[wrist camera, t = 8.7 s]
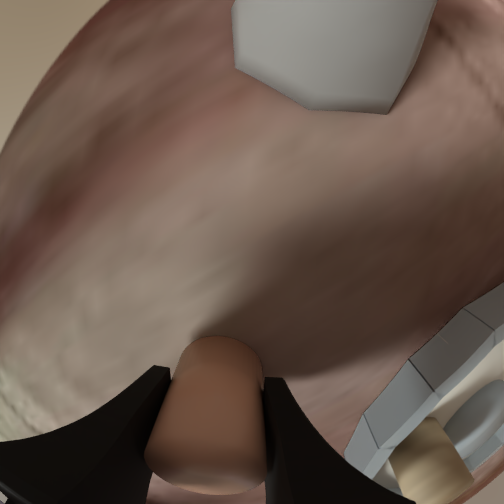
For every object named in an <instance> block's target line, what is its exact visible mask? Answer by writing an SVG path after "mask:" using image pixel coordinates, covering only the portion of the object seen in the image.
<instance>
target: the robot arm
mask: <svg viewBox="0 0 504 504" xmlns="http://www.w3.org/2000/svg"><path fill="white" fill-rule="evenodd" d="M170 382H171V376H170V368H168V367H162V366H156V365H154V366H152V367H151V368H150V369H149V370H147V371H146V372H145V373H144V374H143V375H142V376H140V377H139V378H138V379H137V380H136V381H135V382H133V383H132V384H131V385H130V386H128V387H127V388H126V389H125V390H123V391H122V392H121V393H120V394H118V395H117V396H116V397H114V398H113V399H112V400H110V401H109V402H107V403H106V404H104V405H103V406H101V407H100V408H99V409H97V410H95V411H94V412H92V413H90V414H89V415H87V416H85V417H83V418H81V419H79V420H77V421H75V422H73V423H71V424H69V425H66V426H64V427H61V428H59V429H56V430H54V431H51V432H48V433H45V434H41V435H38V436H34V437H30V438H25V439H20V440H13V441H5V442H0V491H1V492H2V493H3V494H4V495H5V496H6V497H7V498H8V499H7V501H6V503H5V504H145V502H146V497H147V493H148V488H149V484H150V479H151V476H152V473H153V471H152V470H151V469H150V468H149V467H148V465H147V464H146V462H145V459H144V451H145V448H146V446H147V443H148V440H149V438H150V435H151V432H152V429H153V427H154V424H155V421H156V419H157V416H158V414H159V411H160V408H161V406H162V403H163V400H164V398H165V395H166V393H167V390H168V388H169V385H170ZM263 397H264V415H265V436H266V458H267V476H266V478H265V489H266V504H416V502H415V501H413V500H410V499H408V498H406V497H404V496H401V495H399V494H397V493H395V492H392V491H390V490H388V489H386V488H385V487H383V486H381V485H380V484H378V483H376V482H375V481H373V480H371V479H370V478H369V477H367V476H366V475H364V474H363V473H362V472H360V471H359V470H358V469H356V468H355V467H353V466H352V465H351V464H350V463H348V462H347V461H346V460H345V459H344V458H343V457H342V456H341V455H339V454H338V453H337V452H336V451H335V450H334V449H333V448H332V447H331V446H330V445H329V444H328V443H327V442H326V440H325V439H324V438H323V437H322V436H321V435H320V434H319V432H318V431H317V430H316V429H315V427H314V426H313V425H312V424H311V422H310V421H309V420H308V418H307V417H306V415H305V414H304V412H303V411H302V410H301V408H300V407H299V405H298V403H297V402H296V400H295V398H294V397H293V395H292V393H291V392H290V390H289V388H288V386H287V384H286V382H285V380H284V379H283V378H275V377H265V382H264V389H263ZM0 504H4V503H3V502H2V501H0Z"/></svg>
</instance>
